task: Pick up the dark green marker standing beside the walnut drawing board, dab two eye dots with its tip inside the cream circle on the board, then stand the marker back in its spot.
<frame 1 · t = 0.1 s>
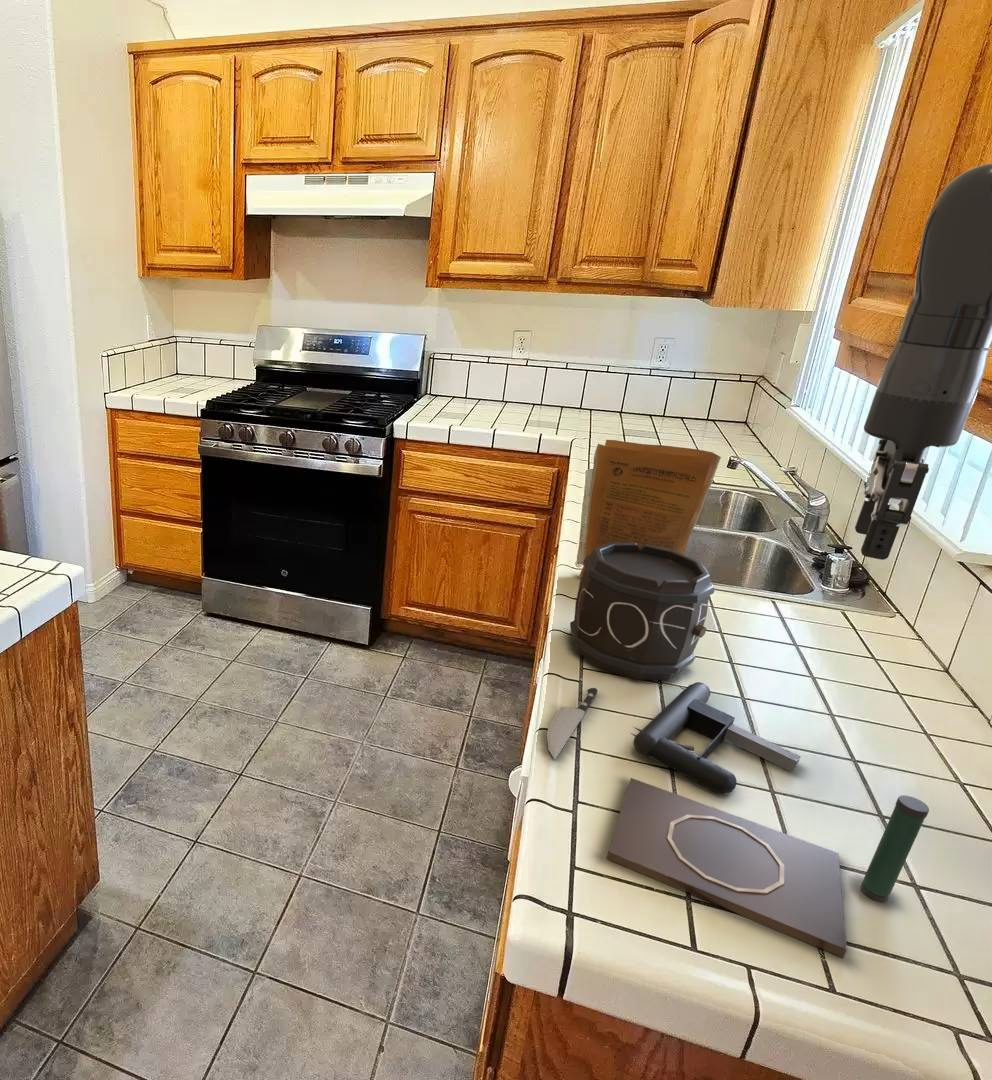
hand: (869, 544, 80), 30 cm above the countertop, tool pointing down, fingers open, 8 cm apart
marker: (873, 892, 74), on the countertop
drawing board: (721, 859, 77), on the countertop
door handle: (714, 750, 95), on the countertop
coffee canister: (629, 656, 117), on the countertop
chef's knife: (566, 722, 99), on the countertop
pancake mix bag: (623, 590, 140), on the countertop
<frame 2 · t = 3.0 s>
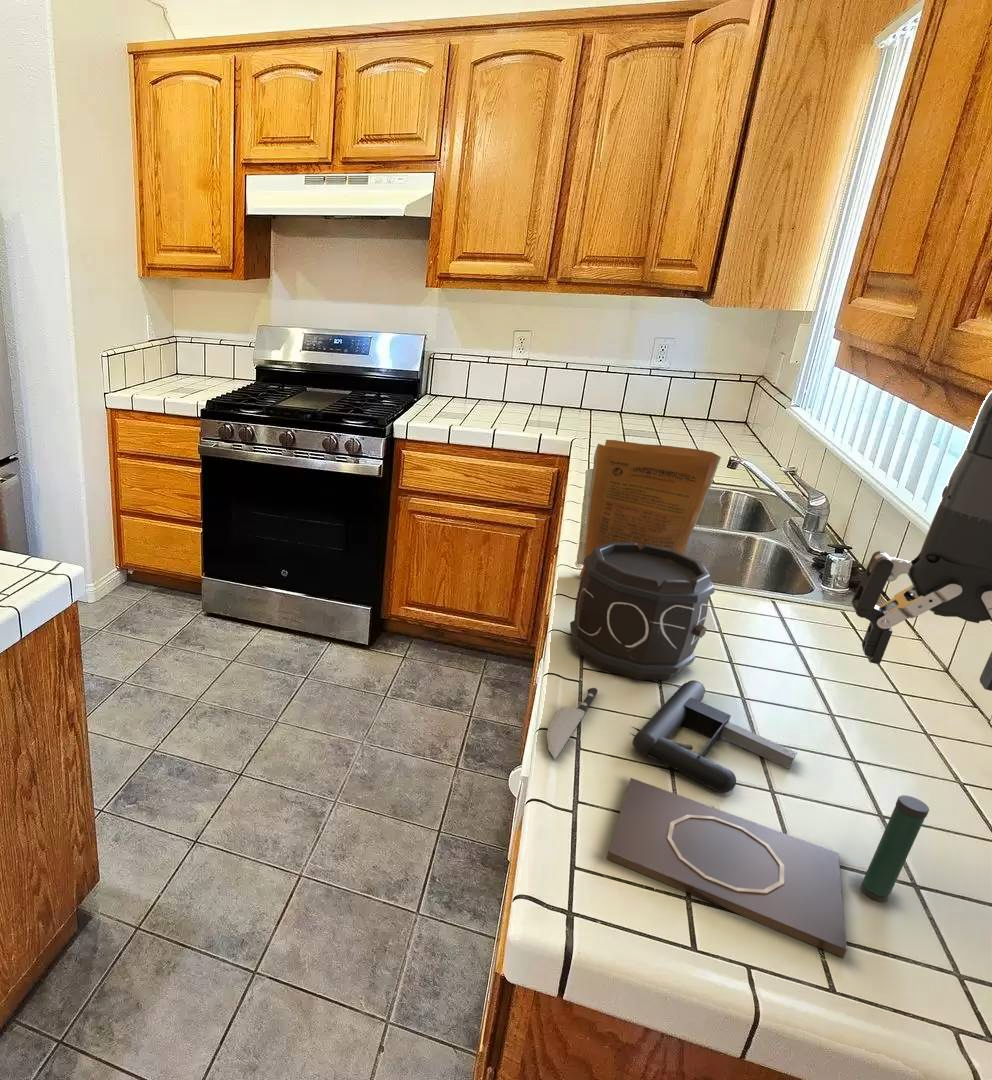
hand: (928, 673, 70), 22 cm above the countertop, tool pointing down, fingers open, 8 cm apart
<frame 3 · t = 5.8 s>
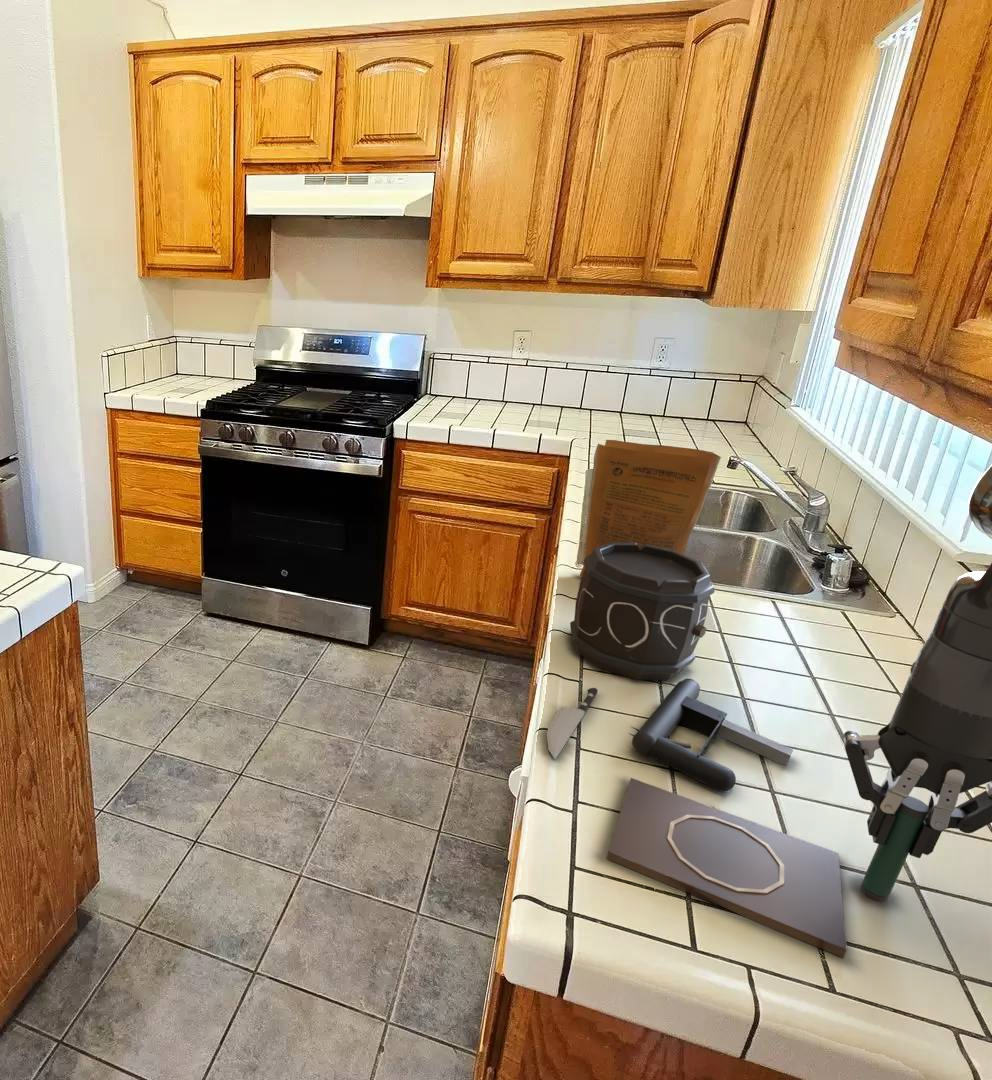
hand: (895, 844, 72), 6 cm above the countertop, tool pointing down, fingers closed on marker, 2 cm apart
marker: (873, 892, 74), on the countertop, touching gripper
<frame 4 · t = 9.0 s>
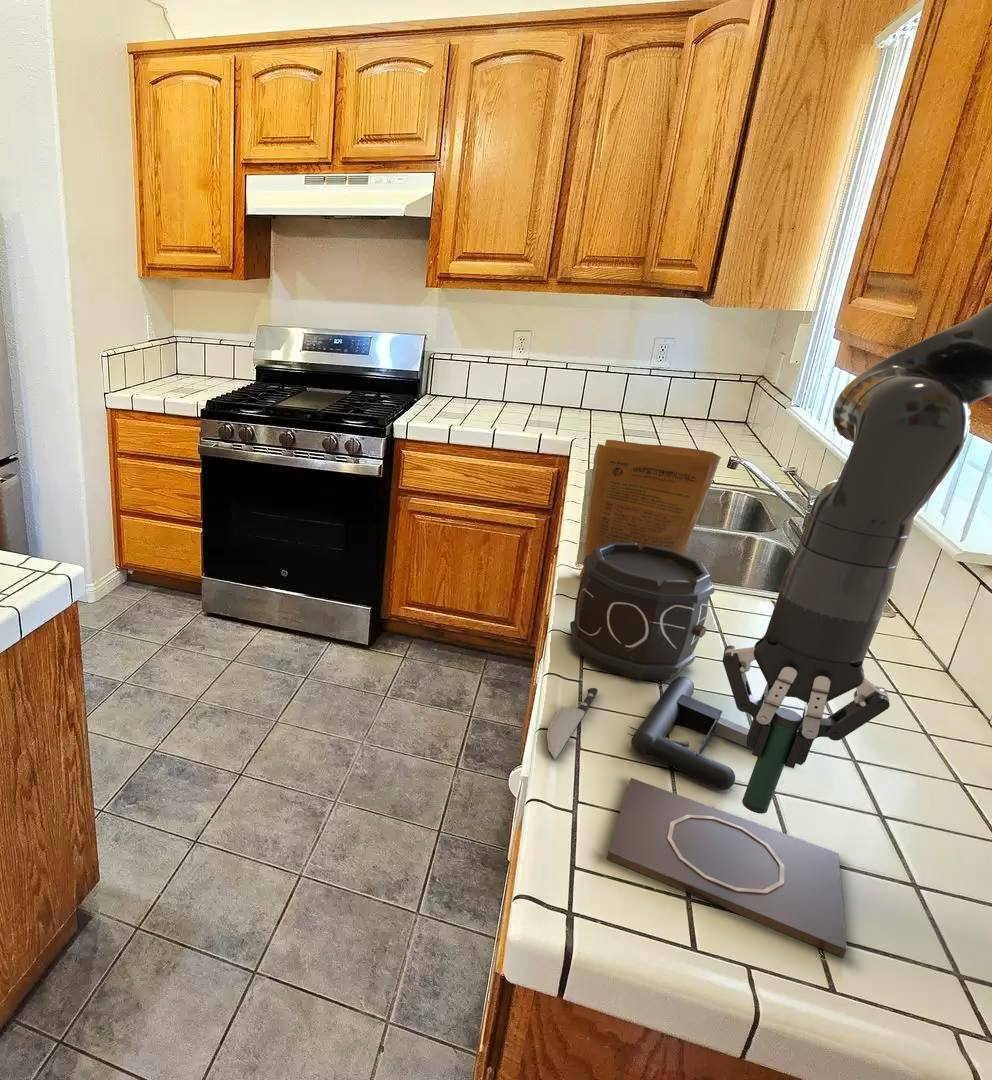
hand: (772, 757, 73), 12 cm above the countertop, tool pointing down, fingers closed on marker
marker: (754, 806, 76), point 6 cm above the countertop, touching gripper
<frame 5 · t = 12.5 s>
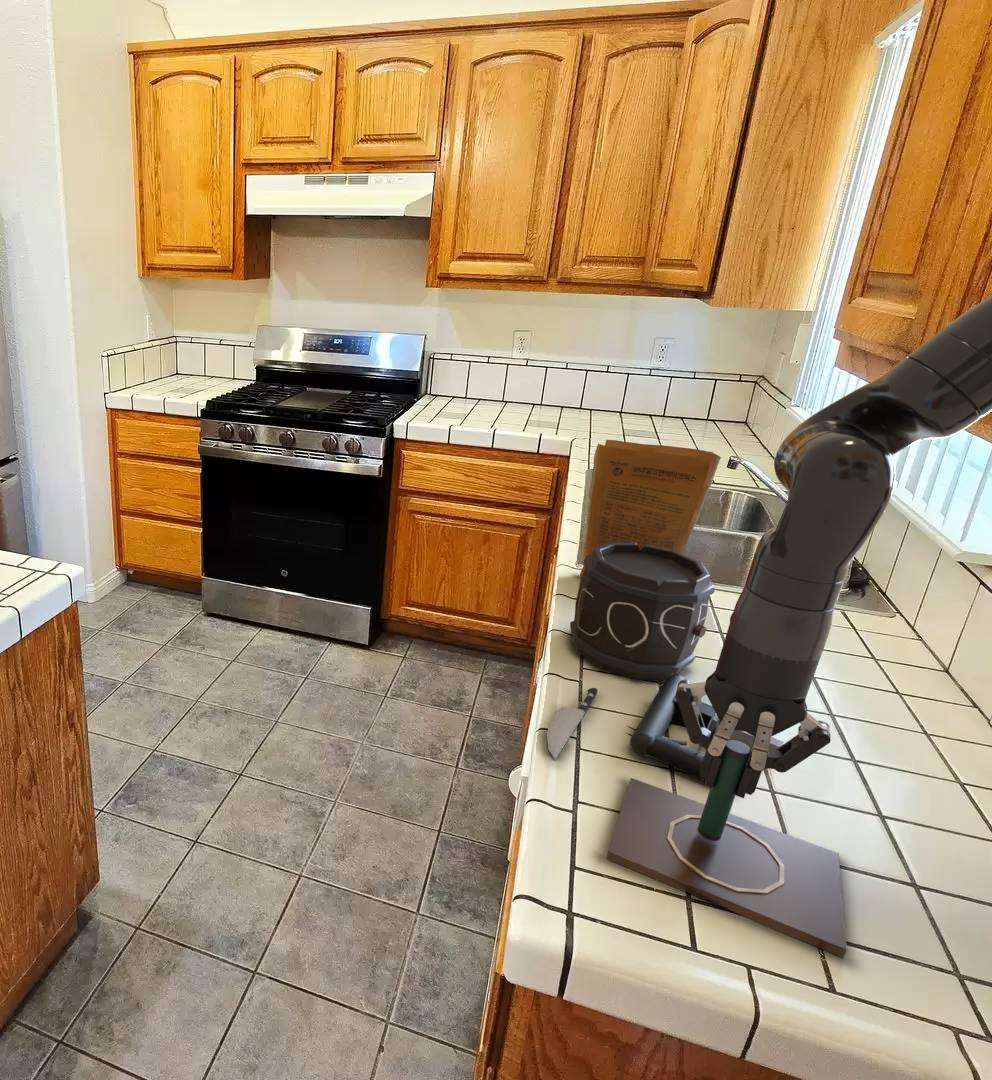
hand: (724, 786, 77), 7 cm above the countertop, tool pointing down, fingers closed on marker, 2 cm apart
marker: (708, 833, 79), point 1 cm above the countertop, touching gripper
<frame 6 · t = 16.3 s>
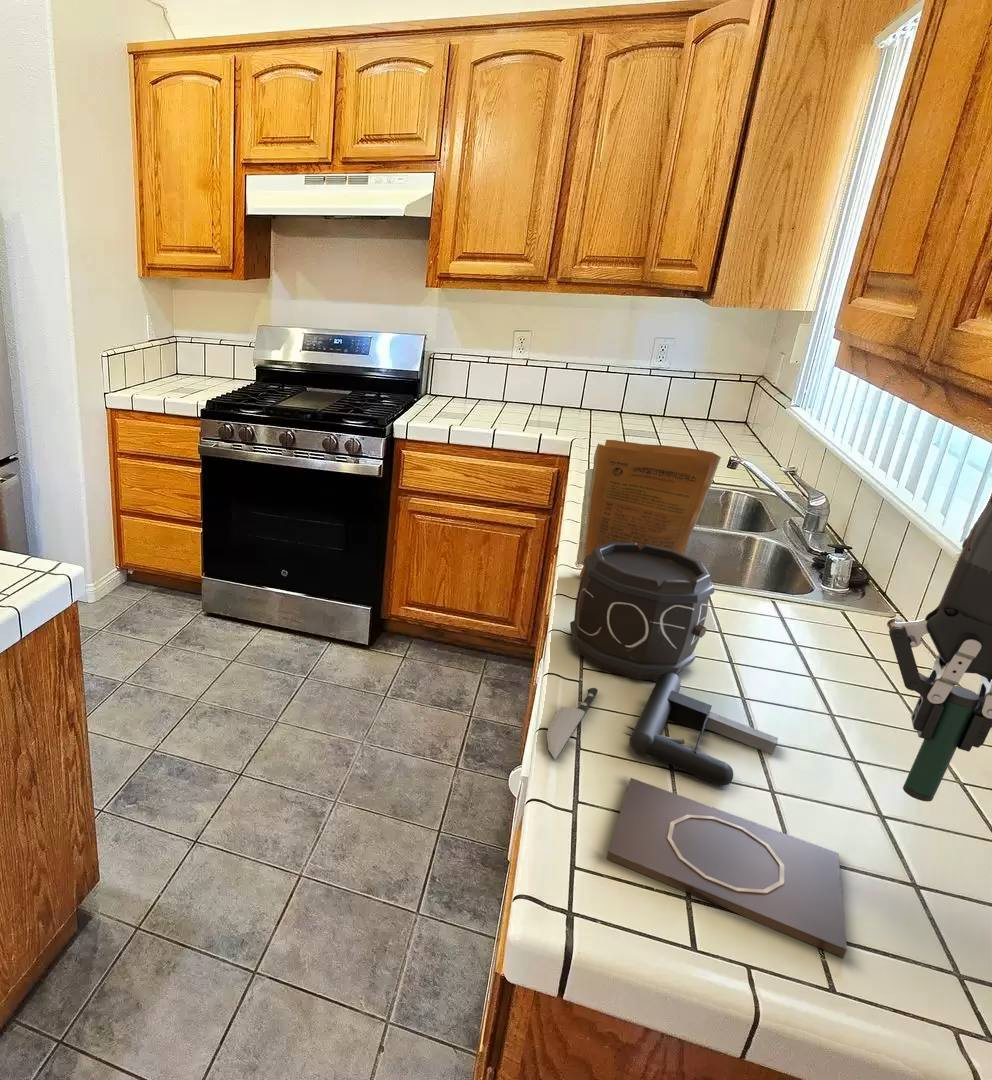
hand: (942, 739, 68), 18 cm above the countertop, tool pointing down, fingers closed on marker
marker: (917, 793, 70), point 12 cm above the countertop, touching gripper
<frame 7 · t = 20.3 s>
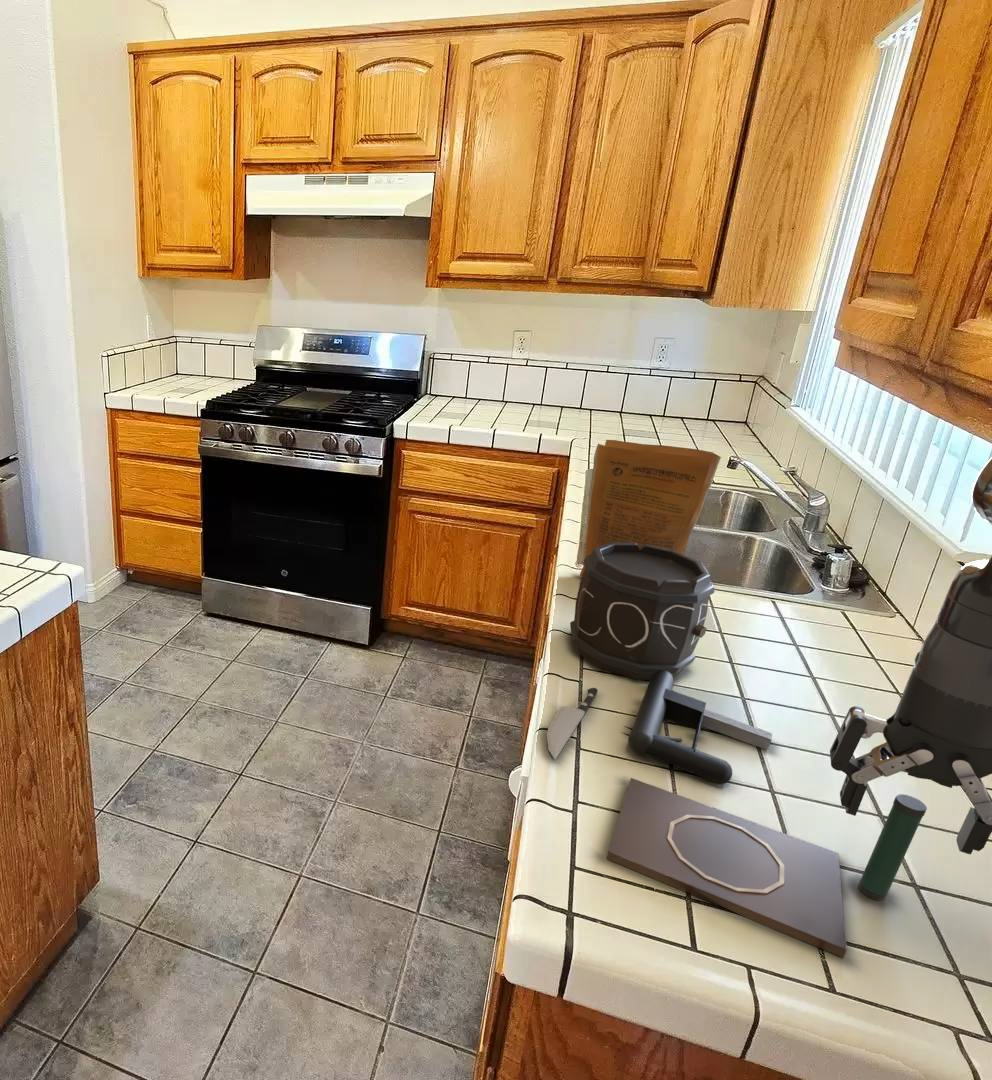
hand: (904, 828, 71), 8 cm above the countertop, tool pointing down, fingers open, 8 cm apart
marker: (871, 891, 74), on the countertop
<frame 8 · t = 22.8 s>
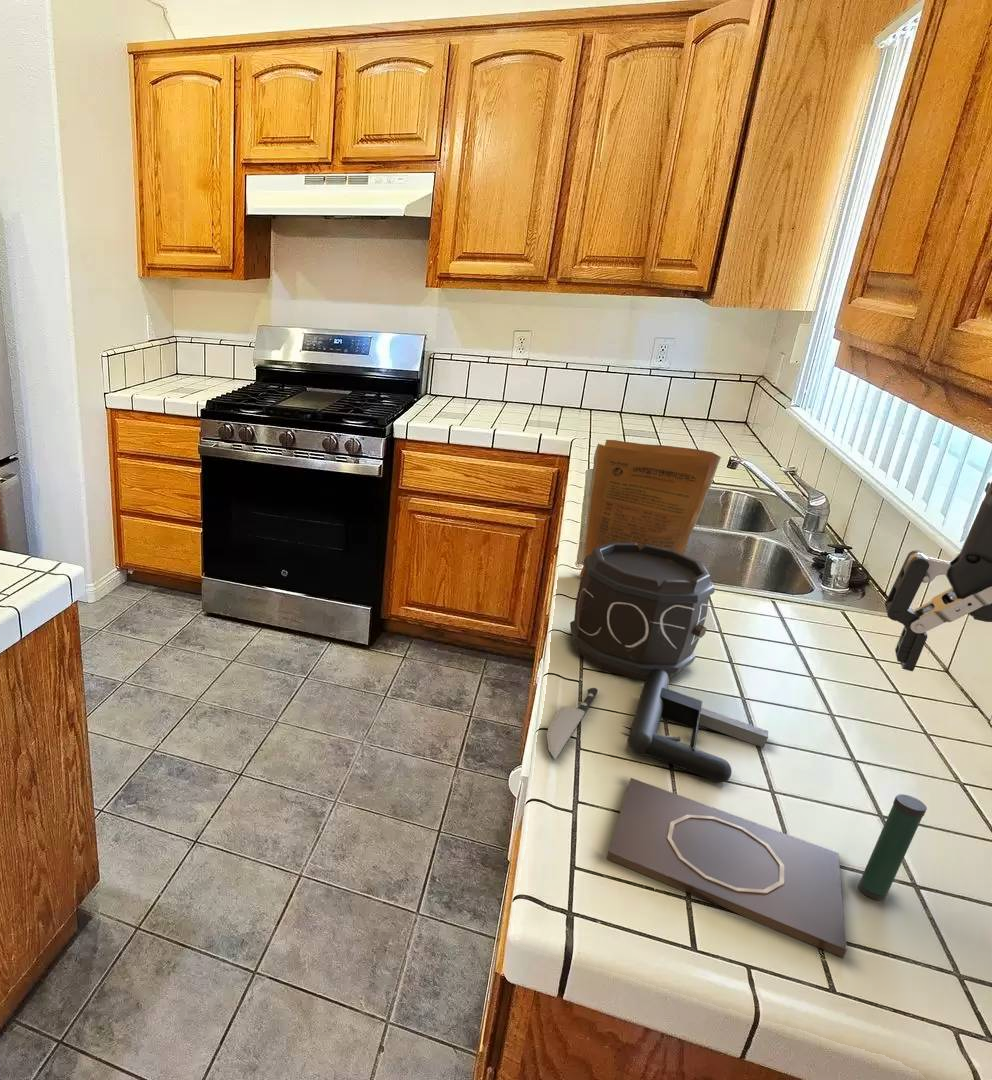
hand: (967, 682, 65), 24 cm above the countertop, tool pointing down, fingers open, 8 cm apart
at the end: marker 0.2 cm from the target spot, on the countertop; marker tilted 0°; the gripper is holding nothing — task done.
